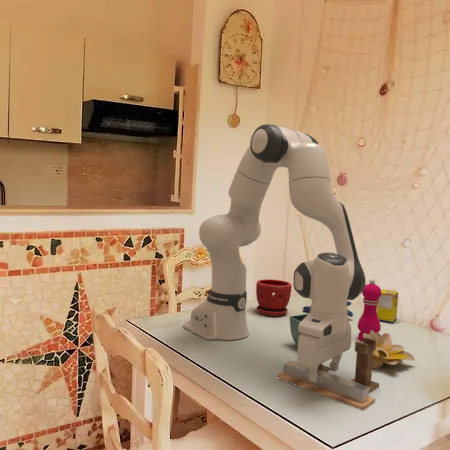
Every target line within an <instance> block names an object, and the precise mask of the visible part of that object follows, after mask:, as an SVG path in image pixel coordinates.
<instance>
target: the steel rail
mask: <svg viewBox="0 0 450 450" xmlns="http://www.w3.org/2000/svg"><path fill="white" fill-rule="evenodd" d="M283 372H284V373H283V375H286V376H289V377H292V378H294V379H297V380H300V381H303V382H305V383H308V384H311V385H314V386H316V387H319V388H322V389H325V390H327V391H330V392H333V393H336V394H338V395H341V396H344V397H347V398H349V399H352V400H355V401H358V402H360V403H364V402H365V401H367V400H368V398H369V397H370V396H369V394H370V393H369V387H368V386H365V385H362V384H359V383H356V382H353V381H350V380H351V379H347V378H344V377H341V376H337V375H335V374H333V373H329V372H328V371H327V372H324V371H321V370H318V369H317V373H318V374H319V380H318V381H317V382H312V381H310V373H309V371H308V368H306V367H303V366H300V365H299V363H298V361H293V360H289V361H286V362H284V363H283Z"/></svg>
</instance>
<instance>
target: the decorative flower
mask: <svg viewBox="0 0 450 450" xmlns="http://www.w3.org/2000/svg"><path fill="white" fill-rule="evenodd" d="M370 332H371V333H369V334H368V335H367V334H366V333H364V334H363V338H364V337H367V338H371V339H374V340H376V349H375V350H374V351H373V364H372V369H377V368H381V367H382V366H383V365H384V364H385V365H388V366H393V365H396V364H398V363H403V362H404V361H411V362H412V361H416V358H415V357H414V354H412V353H410V352H409V351H406V350H405V347H404V346H403V345H401V344H393V343H392V338H391V335H390V334H389V333H388V332H384V333H383V334H382V335H381V334H380V332H378V333H375V332H374V331H373V330H370Z"/></svg>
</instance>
